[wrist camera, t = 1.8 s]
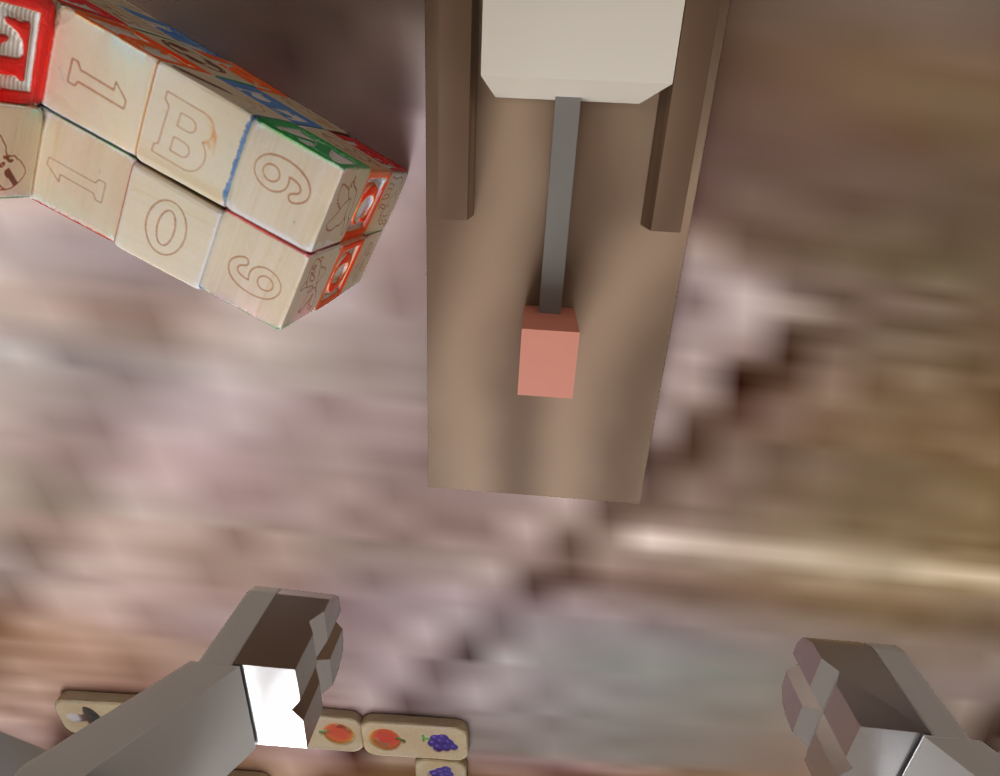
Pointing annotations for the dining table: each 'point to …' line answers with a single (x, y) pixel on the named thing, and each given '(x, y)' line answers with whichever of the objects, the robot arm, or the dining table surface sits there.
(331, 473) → the dining table surface
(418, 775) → the pile of dominoes
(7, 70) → the stack of blocks
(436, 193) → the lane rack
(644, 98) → the block
